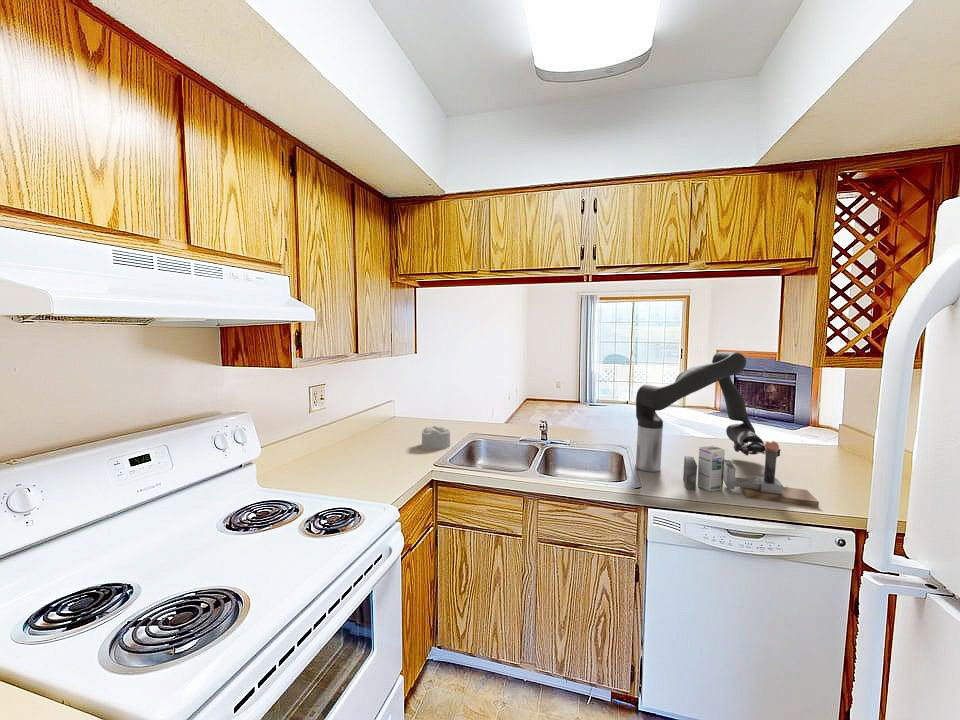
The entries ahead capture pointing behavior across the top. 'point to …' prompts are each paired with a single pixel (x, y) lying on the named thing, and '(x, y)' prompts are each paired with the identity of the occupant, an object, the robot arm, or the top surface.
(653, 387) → the robot arm
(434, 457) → the top surface
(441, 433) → the lumpy-topped squat cylinder
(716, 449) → the syrup box
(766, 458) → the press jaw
